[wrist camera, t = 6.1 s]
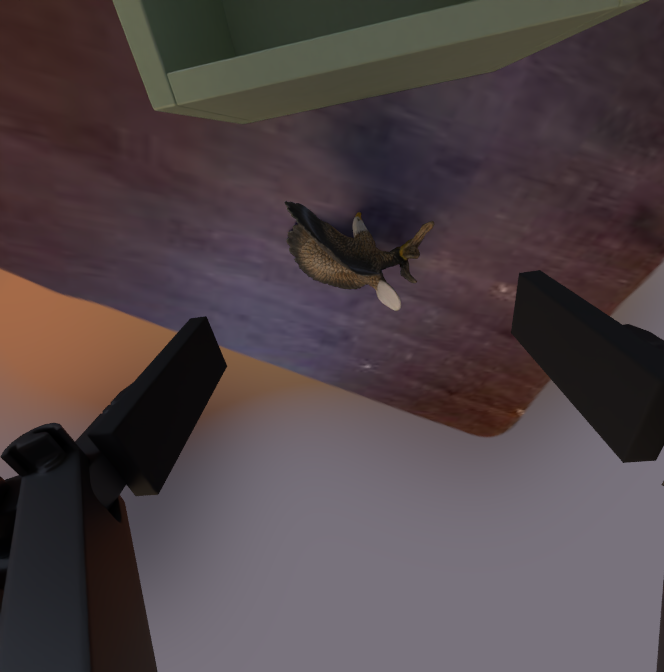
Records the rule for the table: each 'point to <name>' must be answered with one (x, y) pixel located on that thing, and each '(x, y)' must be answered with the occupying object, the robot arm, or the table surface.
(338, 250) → the eagle figurine
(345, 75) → the chest
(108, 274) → the table surface
